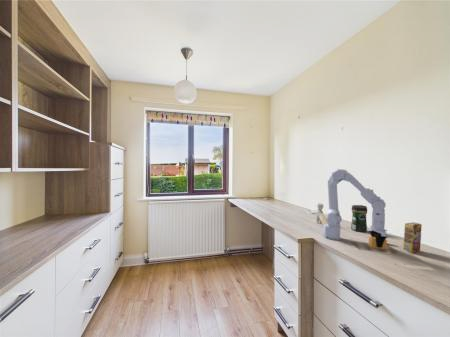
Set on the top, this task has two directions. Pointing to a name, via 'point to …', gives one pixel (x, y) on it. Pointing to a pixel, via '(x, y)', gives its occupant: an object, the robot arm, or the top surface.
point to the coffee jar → (359, 218)
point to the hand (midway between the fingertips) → (377, 245)
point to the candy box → (412, 237)
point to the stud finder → (373, 243)
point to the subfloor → (366, 246)
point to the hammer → (320, 215)
